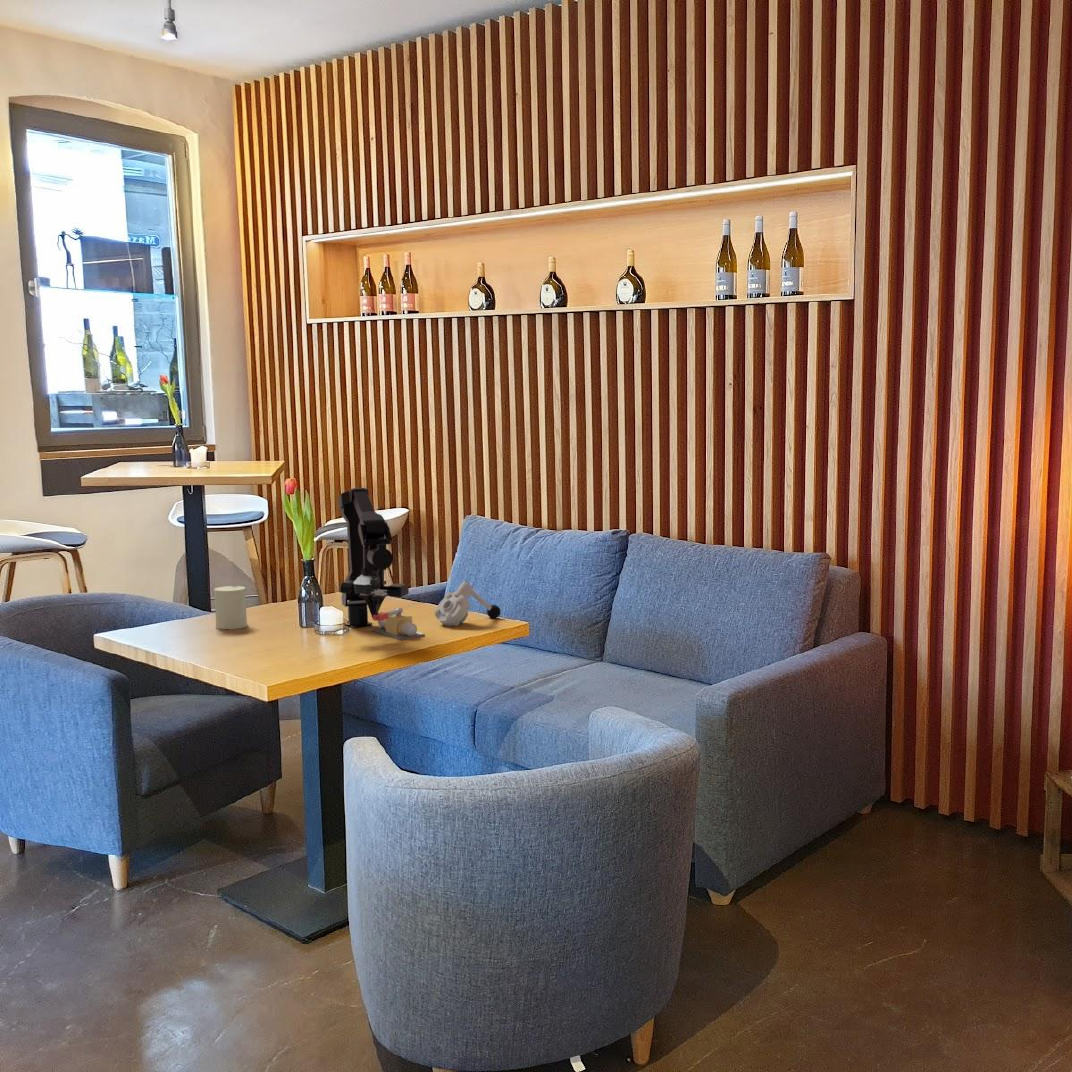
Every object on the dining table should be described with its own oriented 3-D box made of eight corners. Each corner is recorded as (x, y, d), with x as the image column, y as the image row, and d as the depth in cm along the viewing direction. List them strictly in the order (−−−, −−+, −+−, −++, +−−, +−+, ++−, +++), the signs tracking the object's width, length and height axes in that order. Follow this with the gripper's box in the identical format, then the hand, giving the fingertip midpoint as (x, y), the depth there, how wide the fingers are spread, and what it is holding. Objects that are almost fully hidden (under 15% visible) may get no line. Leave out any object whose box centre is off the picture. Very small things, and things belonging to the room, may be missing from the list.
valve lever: (397, 612, 324) (397, 606, 324) (404, 612, 323) (404, 607, 323) (373, 620, 312) (373, 614, 312) (380, 621, 311) (380, 615, 311)
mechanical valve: (427, 614, 336) (456, 574, 340) (464, 645, 347) (491, 606, 350) (446, 622, 328) (475, 581, 332) (483, 654, 339) (511, 613, 342)
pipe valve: (370, 630, 328) (370, 610, 327) (394, 626, 333) (394, 606, 332) (400, 640, 315) (399, 619, 314) (424, 636, 320) (424, 615, 319)
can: (252, 623, 340) (250, 584, 339) (239, 630, 331) (237, 589, 330) (224, 623, 342) (222, 583, 340) (210, 629, 333) (208, 589, 331)
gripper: (329, 566, 308) (330, 622, 310) (392, 570, 302) (392, 627, 304) (348, 560, 318) (349, 614, 320) (409, 564, 313) (409, 619, 315)
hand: (374, 618), depth 315 cm, fingers closed
